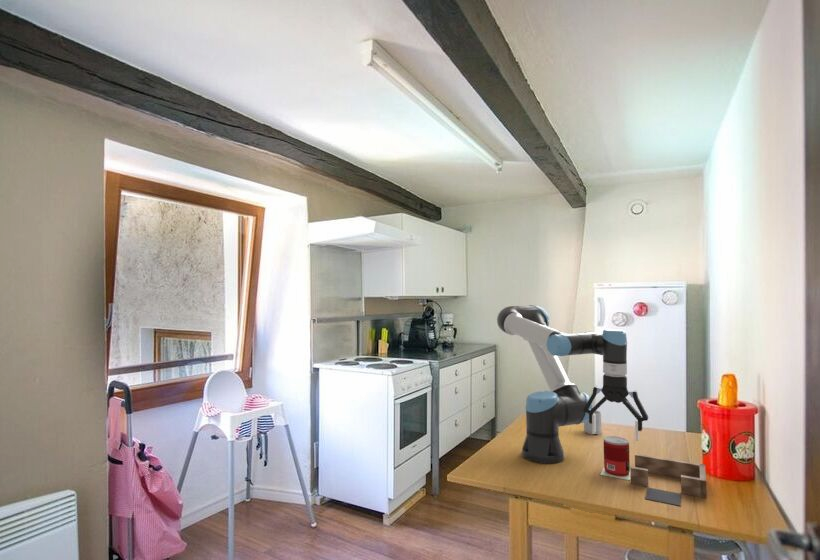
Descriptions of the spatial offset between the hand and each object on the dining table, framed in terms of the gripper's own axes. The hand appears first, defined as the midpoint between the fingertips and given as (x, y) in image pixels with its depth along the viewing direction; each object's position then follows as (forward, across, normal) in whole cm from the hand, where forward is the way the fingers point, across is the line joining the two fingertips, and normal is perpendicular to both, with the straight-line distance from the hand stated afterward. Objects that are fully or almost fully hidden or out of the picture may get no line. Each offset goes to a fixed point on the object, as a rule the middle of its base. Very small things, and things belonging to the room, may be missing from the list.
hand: (615, 436), depth 156 cm
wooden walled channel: (+12, +16, 0) cm, 20 cm away
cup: (+13, -14, +44) cm, 48 cm away
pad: (+12, +1, 0) cm, 12 cm away
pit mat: (+12, +15, -14) cm, 23 cm away
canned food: (+12, +1, 0) cm, 12 cm away
